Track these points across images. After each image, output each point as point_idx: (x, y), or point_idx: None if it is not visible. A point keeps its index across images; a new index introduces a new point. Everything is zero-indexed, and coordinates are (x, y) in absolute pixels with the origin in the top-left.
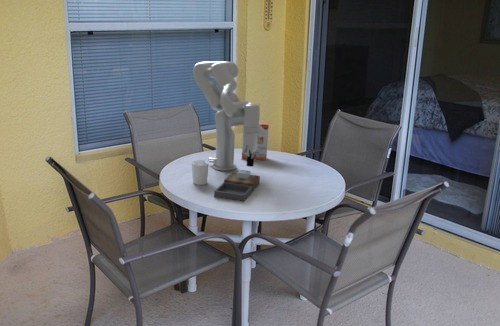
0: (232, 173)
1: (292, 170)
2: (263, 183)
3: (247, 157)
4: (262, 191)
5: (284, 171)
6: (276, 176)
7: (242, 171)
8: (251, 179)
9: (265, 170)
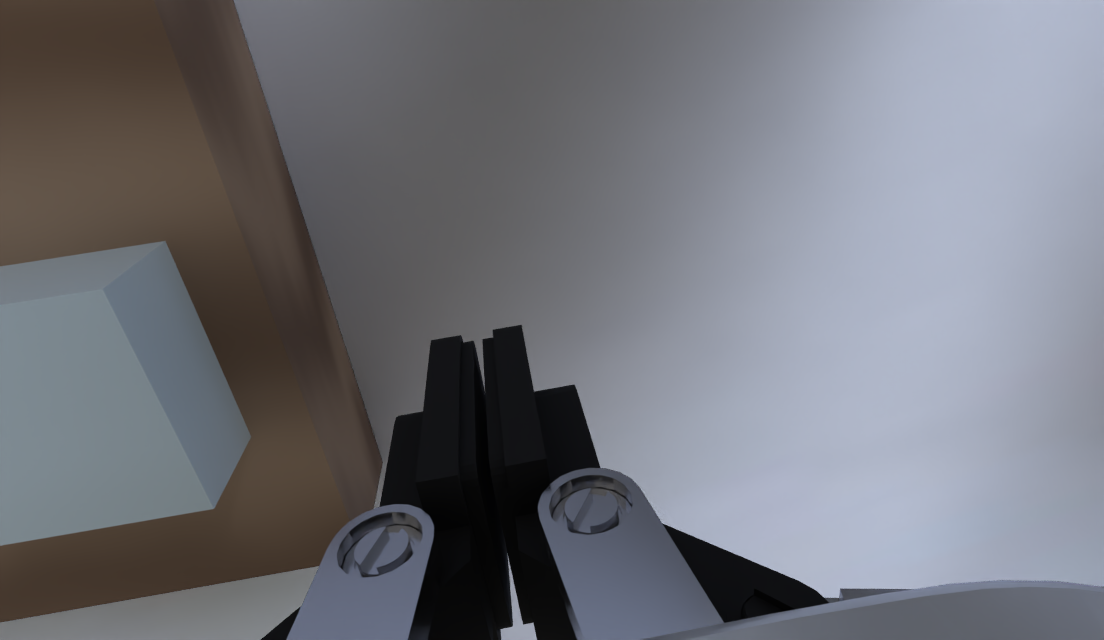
0: (54, 35)
1: (1085, 544)
2: None
3: (335, 580)
4: (148, 596)
5: (1027, 495)
6: (794, 500)
7: (22, 396)
8: (83, 538)
9: (1018, 286)
